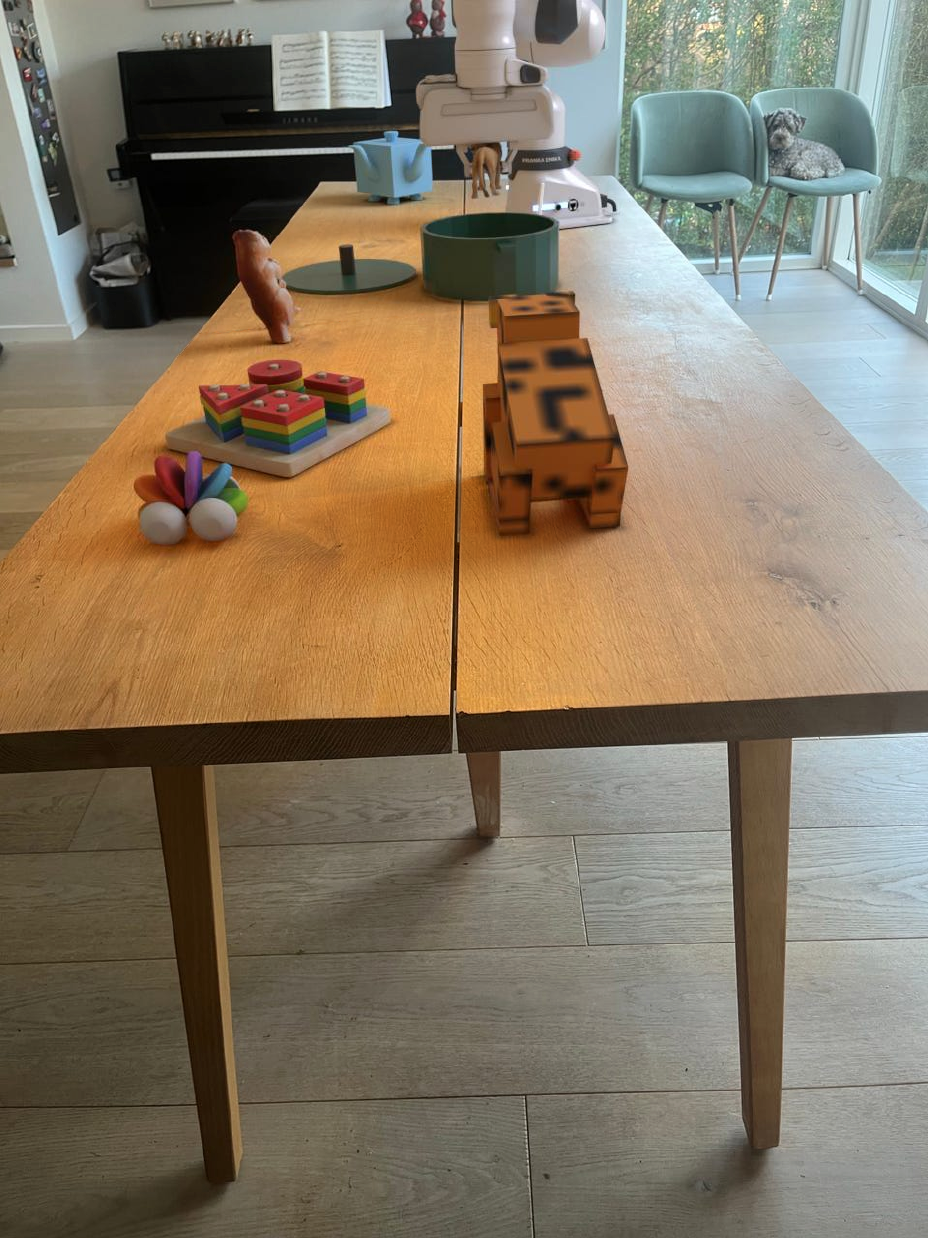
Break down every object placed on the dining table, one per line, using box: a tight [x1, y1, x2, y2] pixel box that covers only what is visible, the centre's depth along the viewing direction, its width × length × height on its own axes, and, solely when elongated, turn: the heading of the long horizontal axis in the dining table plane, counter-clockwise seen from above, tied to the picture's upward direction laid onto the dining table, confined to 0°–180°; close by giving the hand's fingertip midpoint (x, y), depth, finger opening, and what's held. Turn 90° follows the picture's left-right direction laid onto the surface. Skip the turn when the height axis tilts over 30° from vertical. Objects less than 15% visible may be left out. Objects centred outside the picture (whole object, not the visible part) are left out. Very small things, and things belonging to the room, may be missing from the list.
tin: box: [419, 211, 560, 302], centre depth 157 cm, size 22×27×10 cm
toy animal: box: [482, 290, 629, 536], centre depth 88 cm, size 10×20×16 cm, turn 5°
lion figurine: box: [468, 142, 503, 200], centre depth 149 cm, size 15×5×9 cm, turn 2°
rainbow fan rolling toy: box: [133, 451, 249, 547], centre depth 87 cm, size 8×10×7 cm
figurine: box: [232, 229, 302, 344], centre depth 134 cm, size 6×8×15 cm
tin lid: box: [281, 243, 417, 295], centre depth 165 cm, size 23×23×6 cm
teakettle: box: [347, 130, 434, 206], centre depth 231 cm, size 19×19×15 cm
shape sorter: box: [165, 359, 392, 478], centre depth 106 cm, size 18×17×6 cm
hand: (488, 175), depth 151 cm, fingers closed on lion figurine, 4 cm apart
